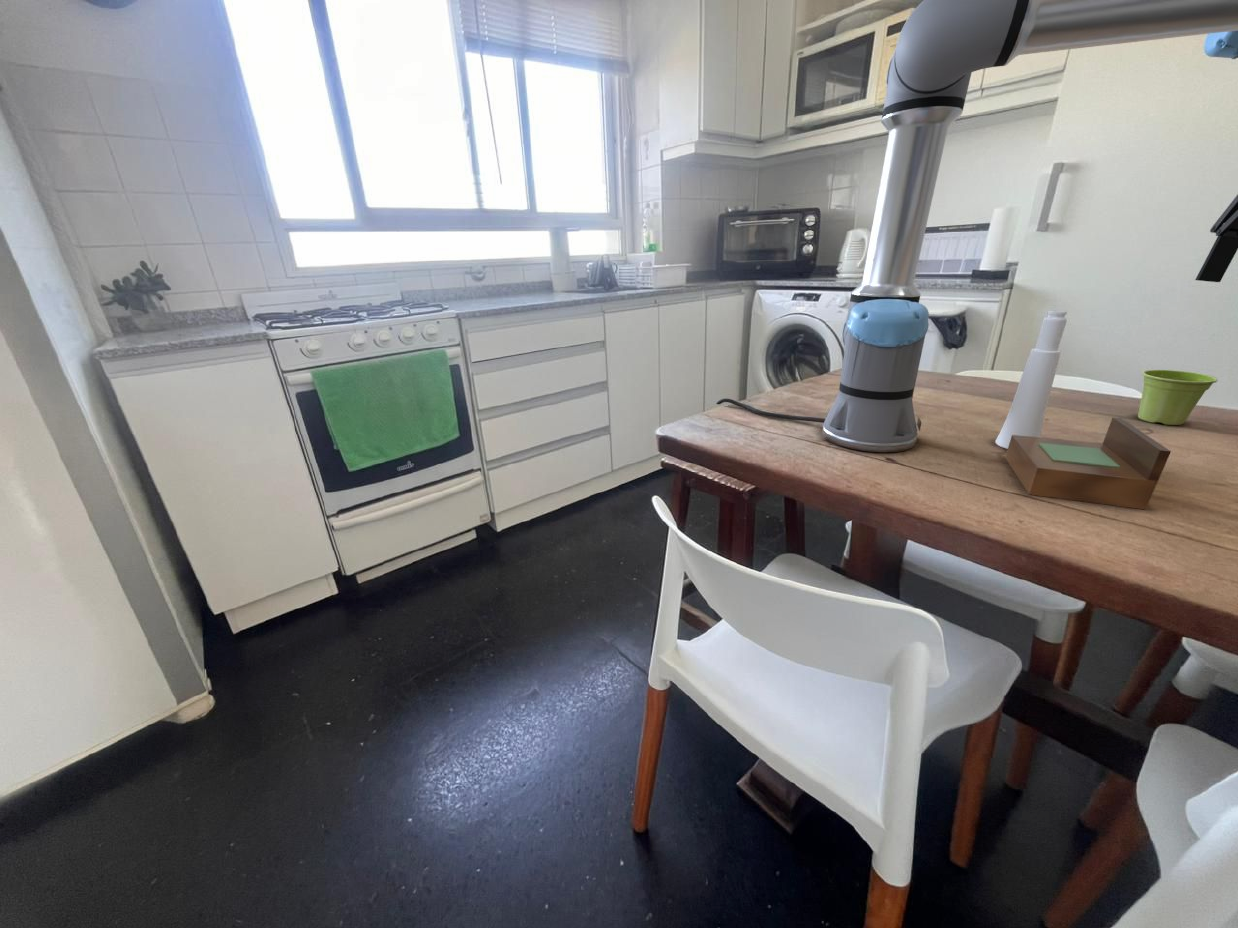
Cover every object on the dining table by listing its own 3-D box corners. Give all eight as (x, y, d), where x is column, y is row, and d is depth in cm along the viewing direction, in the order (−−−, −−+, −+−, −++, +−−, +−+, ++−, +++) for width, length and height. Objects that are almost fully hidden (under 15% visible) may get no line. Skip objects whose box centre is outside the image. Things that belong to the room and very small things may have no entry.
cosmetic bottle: (1049, 450, 81) (1095, 312, 73) (1018, 453, 80) (1060, 314, 72) (1015, 438, 87) (1054, 308, 78) (986, 441, 86) (1022, 310, 77)
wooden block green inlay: (1028, 494, 67) (1046, 439, 64) (1004, 458, 79) (1019, 410, 76) (1145, 509, 62) (1171, 451, 59) (1102, 468, 74) (1121, 417, 71)
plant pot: (1213, 428, 88) (1235, 380, 85) (1159, 429, 88) (1179, 382, 85) (1161, 412, 97) (1179, 369, 93) (1112, 414, 97) (1128, 370, 94)
